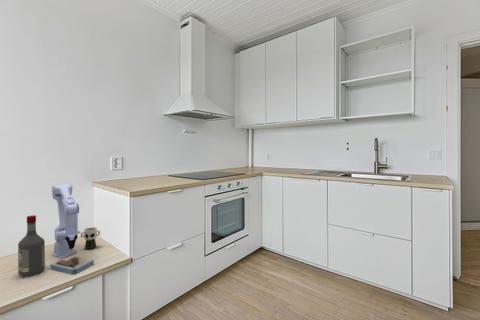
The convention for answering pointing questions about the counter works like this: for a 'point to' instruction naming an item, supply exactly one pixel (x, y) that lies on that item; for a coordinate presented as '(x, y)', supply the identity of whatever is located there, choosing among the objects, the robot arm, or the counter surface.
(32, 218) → the liquor
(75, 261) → the walnut tee
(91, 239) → the character mug
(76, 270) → the slate fence
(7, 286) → the counter surface
